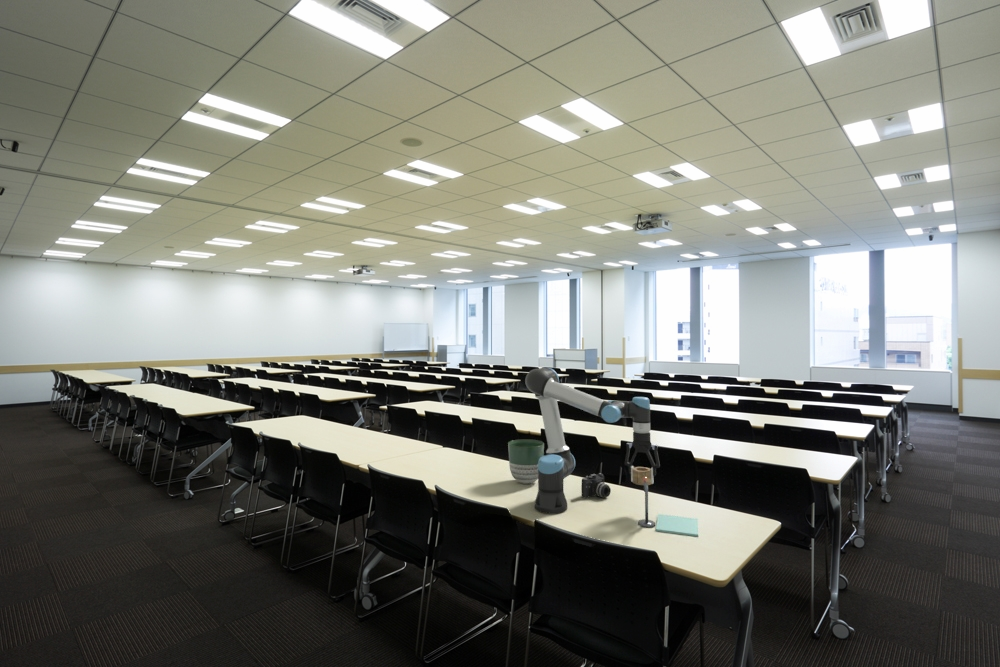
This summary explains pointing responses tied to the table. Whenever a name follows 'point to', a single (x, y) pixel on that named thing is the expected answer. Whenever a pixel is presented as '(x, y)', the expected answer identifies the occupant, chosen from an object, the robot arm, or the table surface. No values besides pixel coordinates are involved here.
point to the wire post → (646, 508)
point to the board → (677, 525)
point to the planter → (525, 459)
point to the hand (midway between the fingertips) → (642, 481)
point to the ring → (641, 475)
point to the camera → (594, 486)
